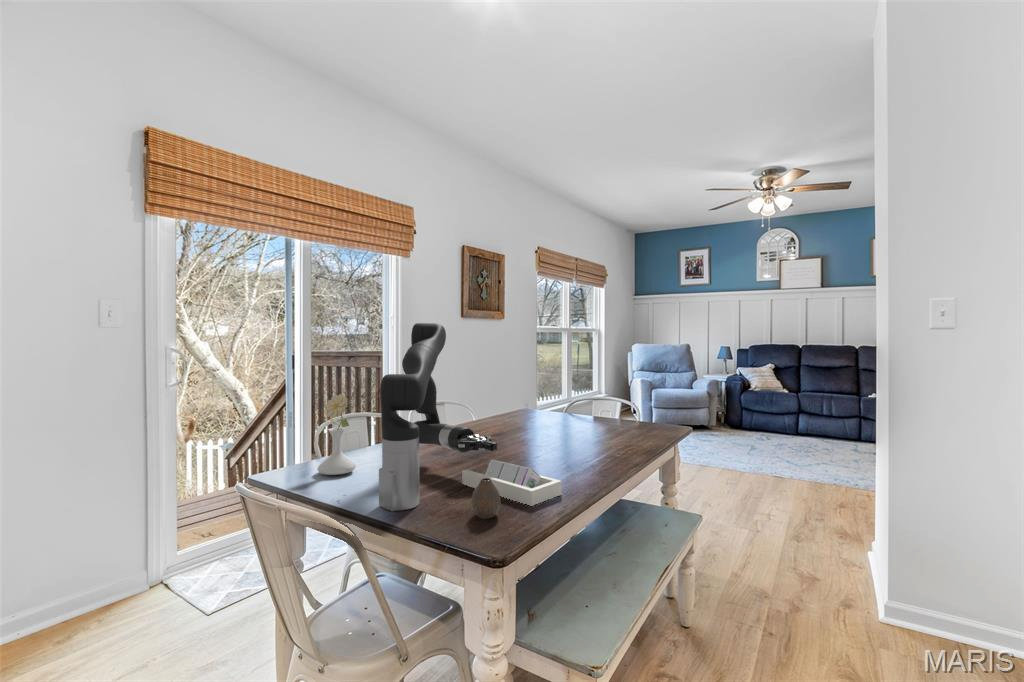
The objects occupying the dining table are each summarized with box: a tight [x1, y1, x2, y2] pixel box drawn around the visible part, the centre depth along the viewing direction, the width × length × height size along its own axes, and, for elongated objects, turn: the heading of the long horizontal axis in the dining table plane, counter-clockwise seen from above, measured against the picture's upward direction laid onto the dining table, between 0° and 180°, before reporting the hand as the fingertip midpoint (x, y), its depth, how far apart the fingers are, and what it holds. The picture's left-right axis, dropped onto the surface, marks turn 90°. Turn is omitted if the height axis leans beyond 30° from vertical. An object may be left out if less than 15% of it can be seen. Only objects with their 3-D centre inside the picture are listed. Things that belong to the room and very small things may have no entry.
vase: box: [471, 478, 501, 520], centre depth 118 cm, size 7×7×9 cm
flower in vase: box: [317, 393, 357, 476], centre depth 153 cm, size 13×11×25 cm
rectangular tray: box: [461, 462, 563, 507], centre depth 138 cm, size 12×27×4 cm, turn 46°
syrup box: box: [484, 459, 542, 488], centre depth 137 cm, size 6×6×14 cm
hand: (495, 447), depth 142 cm, fingers closed
